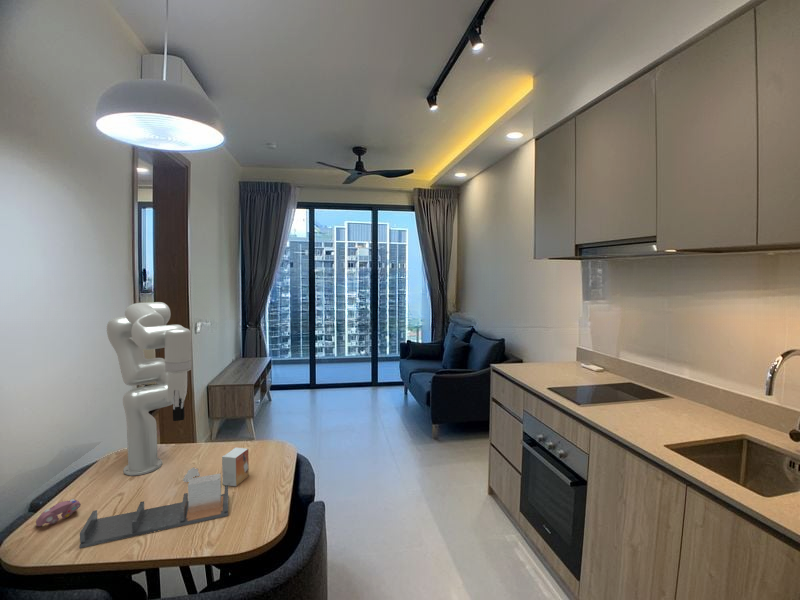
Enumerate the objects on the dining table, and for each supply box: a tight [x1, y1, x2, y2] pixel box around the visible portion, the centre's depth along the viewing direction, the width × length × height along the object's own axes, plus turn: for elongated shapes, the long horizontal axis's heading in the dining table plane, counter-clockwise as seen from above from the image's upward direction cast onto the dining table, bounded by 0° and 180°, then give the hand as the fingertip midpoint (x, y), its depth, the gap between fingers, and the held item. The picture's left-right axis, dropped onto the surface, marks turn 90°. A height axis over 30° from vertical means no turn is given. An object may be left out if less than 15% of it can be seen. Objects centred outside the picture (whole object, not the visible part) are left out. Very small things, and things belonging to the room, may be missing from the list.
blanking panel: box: [187, 473, 222, 513], centre depth 123 cm, size 4×9×9 cm, turn 113°
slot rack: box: [79, 485, 229, 549], centre depth 119 cm, size 12×37×4 cm, turn 113°
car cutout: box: [182, 467, 201, 483], centre depth 139 cm, size 15×7×4 cm, turn 162°
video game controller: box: [35, 498, 81, 527], centre depth 118 cm, size 10×5×7 cm, turn 151°
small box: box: [221, 447, 250, 487], centre depth 141 cm, size 8×6×10 cm
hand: (178, 419), depth 129 cm, fingers closed
